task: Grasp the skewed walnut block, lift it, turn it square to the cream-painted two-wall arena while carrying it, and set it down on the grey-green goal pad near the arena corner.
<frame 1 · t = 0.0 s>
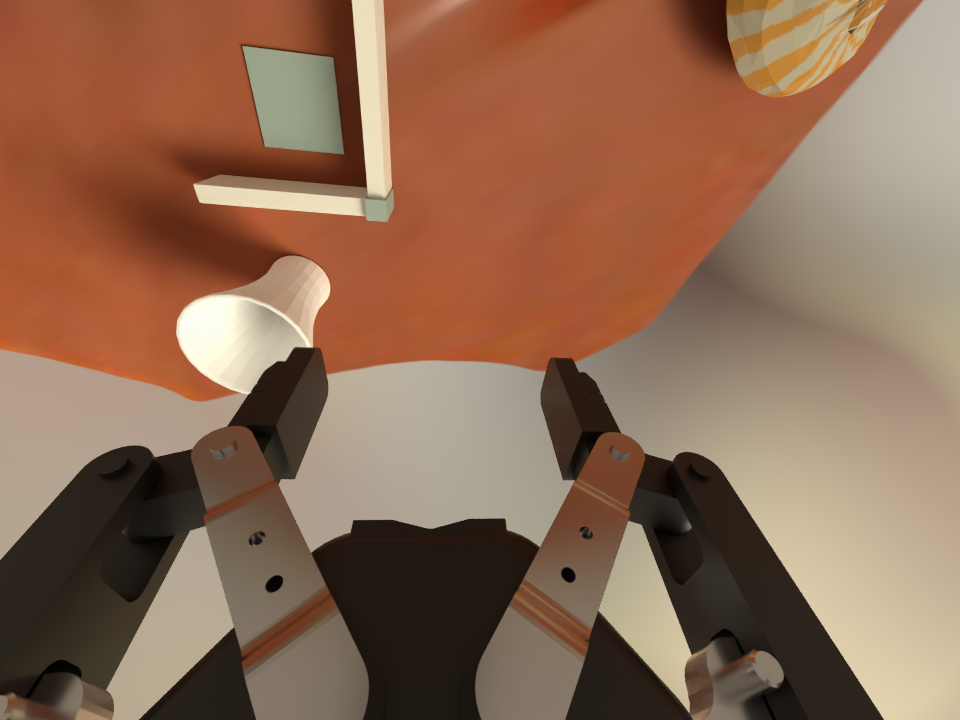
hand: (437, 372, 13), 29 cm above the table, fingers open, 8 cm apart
arena: (277, 58, 29), on the table
cup: (301, 282, 41), on the table
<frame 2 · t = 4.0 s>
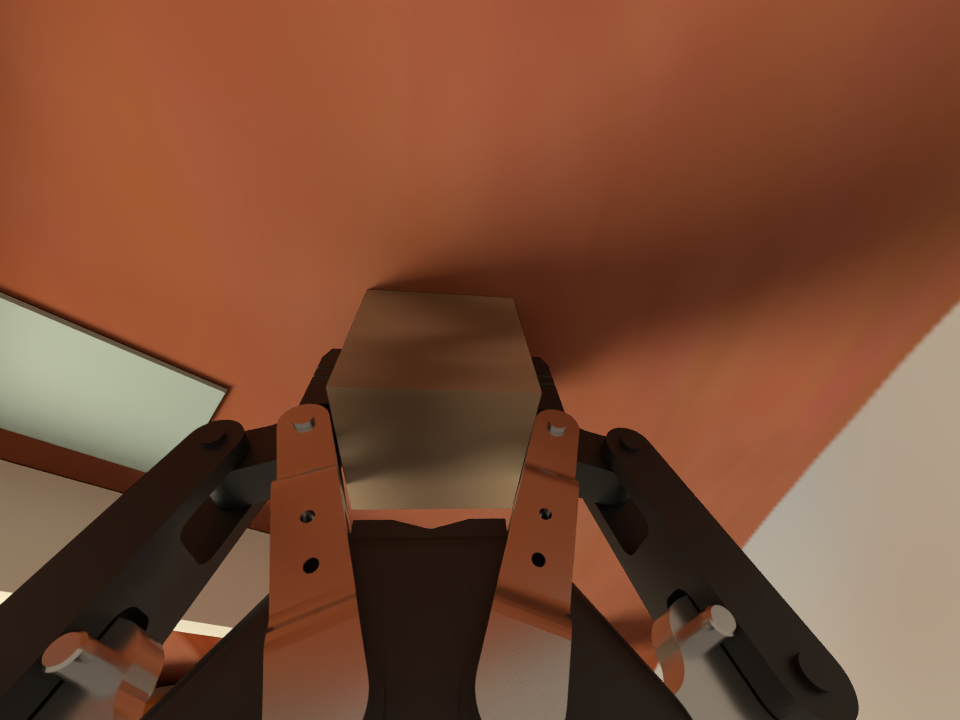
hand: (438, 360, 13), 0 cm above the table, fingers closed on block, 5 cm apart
arena: (194, 419, 15), on the table
block: (439, 352, 14), on the table, touching gripper
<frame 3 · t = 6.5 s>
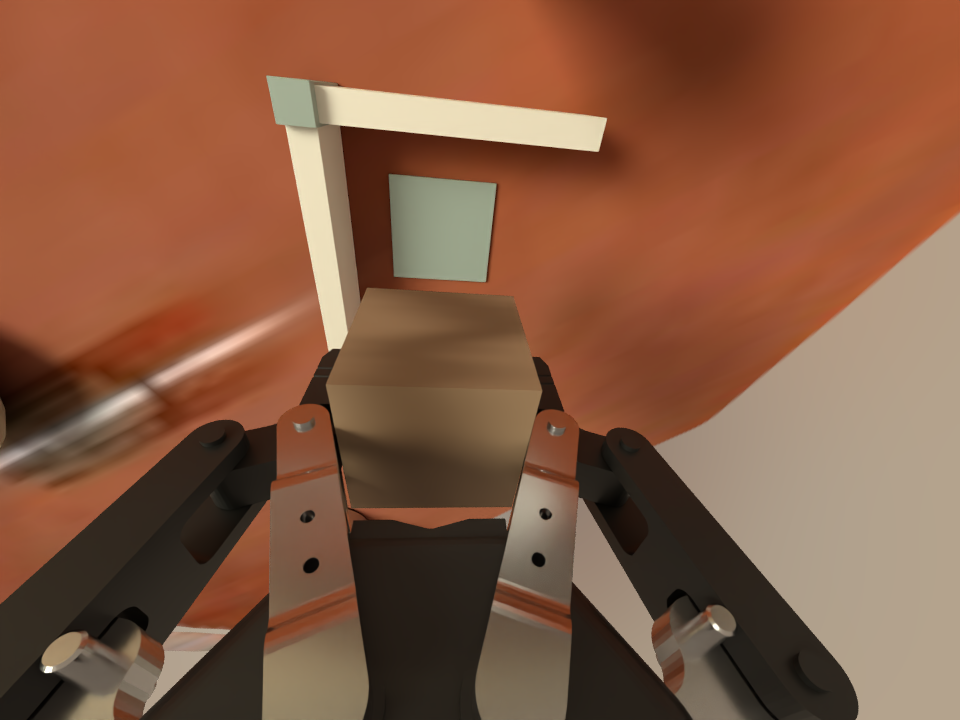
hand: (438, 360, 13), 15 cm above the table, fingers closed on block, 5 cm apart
arena: (453, 273, 27), on the table
block: (439, 351, 14), point 15 cm above the table, touching gripper
when the fingers open (2 cm above the table, at t = 8.8 s): block drops 1 cm, resting on arena.
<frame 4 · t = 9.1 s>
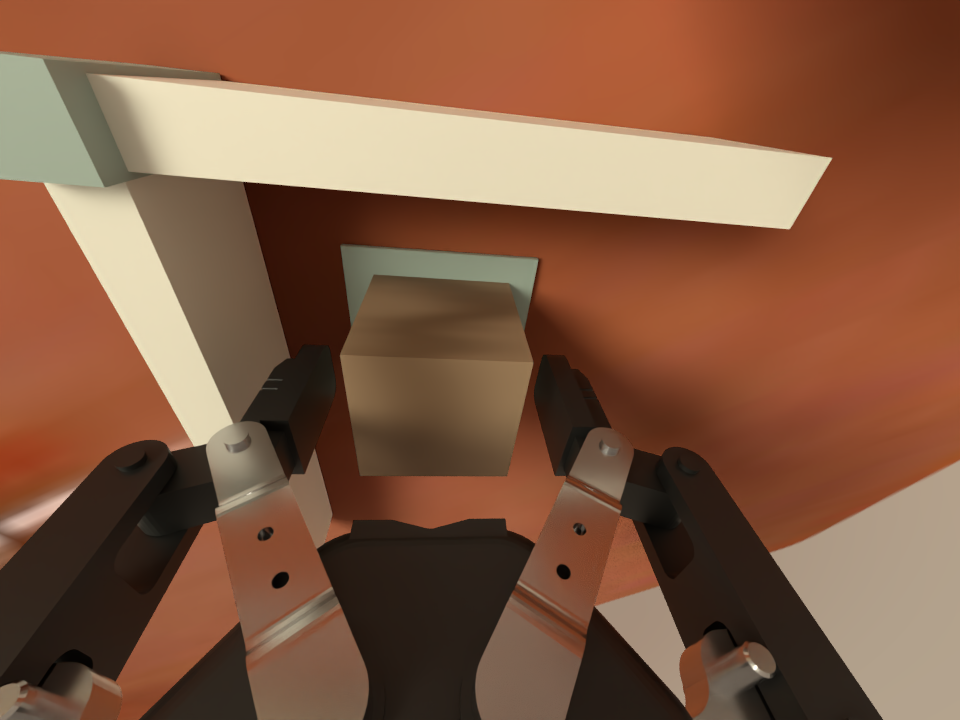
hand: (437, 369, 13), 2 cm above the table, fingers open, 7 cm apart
arena: (459, 388, 17), on the table
block: (440, 335, 15), resting on arena
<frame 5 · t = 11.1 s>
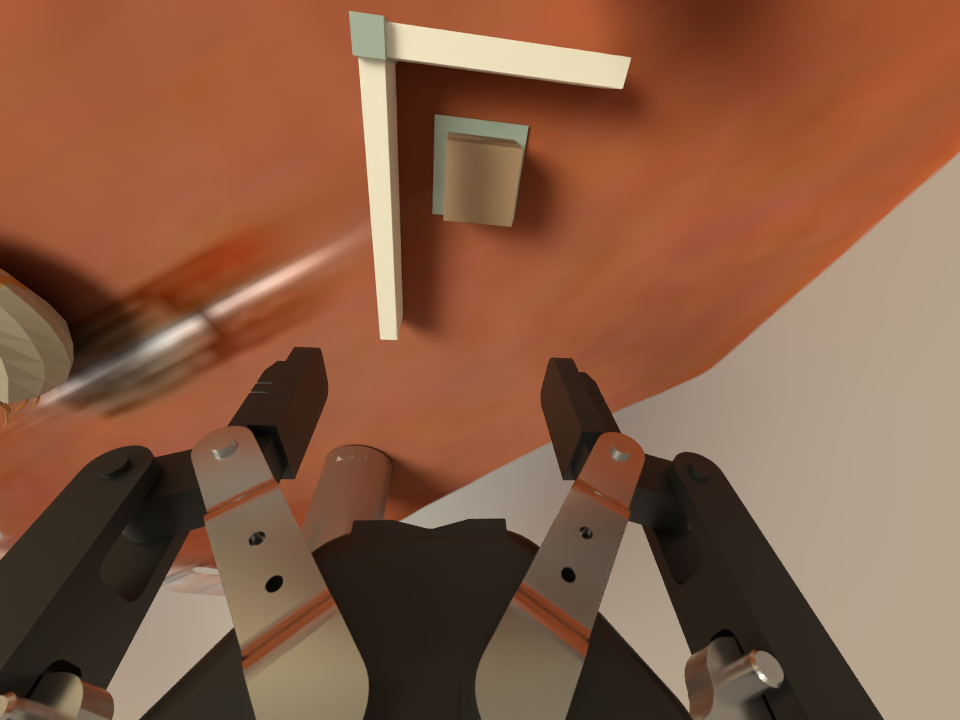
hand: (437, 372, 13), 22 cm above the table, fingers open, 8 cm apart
arena: (485, 212, 31), on the table
nautilus: (14, 320, 35), on the table
block: (478, 172, 29), resting on arena
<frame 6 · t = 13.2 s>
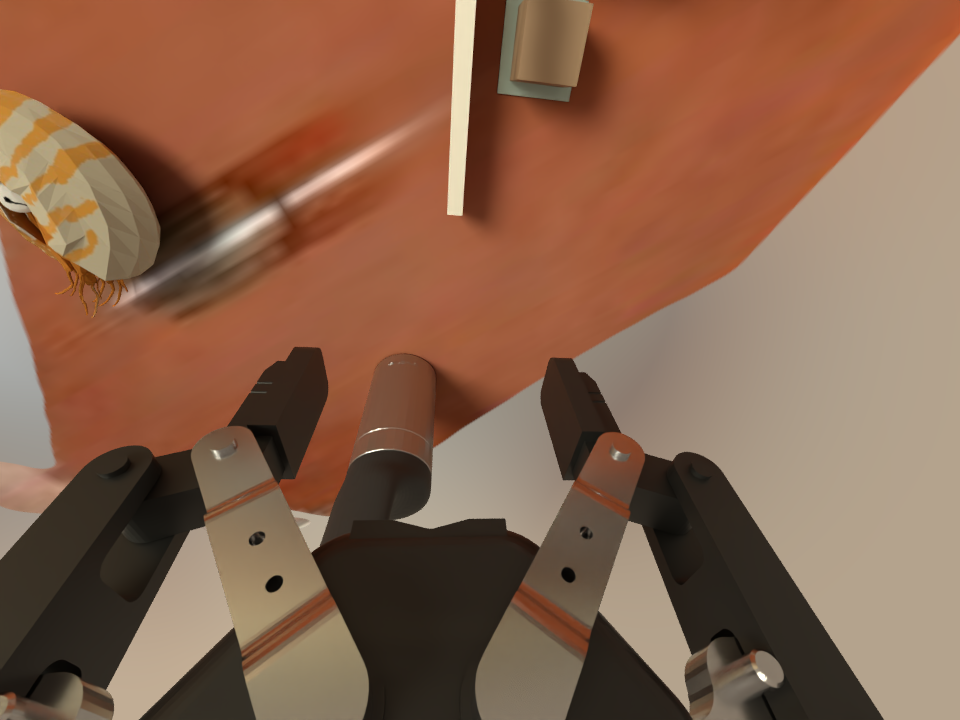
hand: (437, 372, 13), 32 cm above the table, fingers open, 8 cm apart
arena: (544, 92, 34), on the table
nautilus: (103, 214, 38), on the table
block: (541, 49, 32), resting on arena
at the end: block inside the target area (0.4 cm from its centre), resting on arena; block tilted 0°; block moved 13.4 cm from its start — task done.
